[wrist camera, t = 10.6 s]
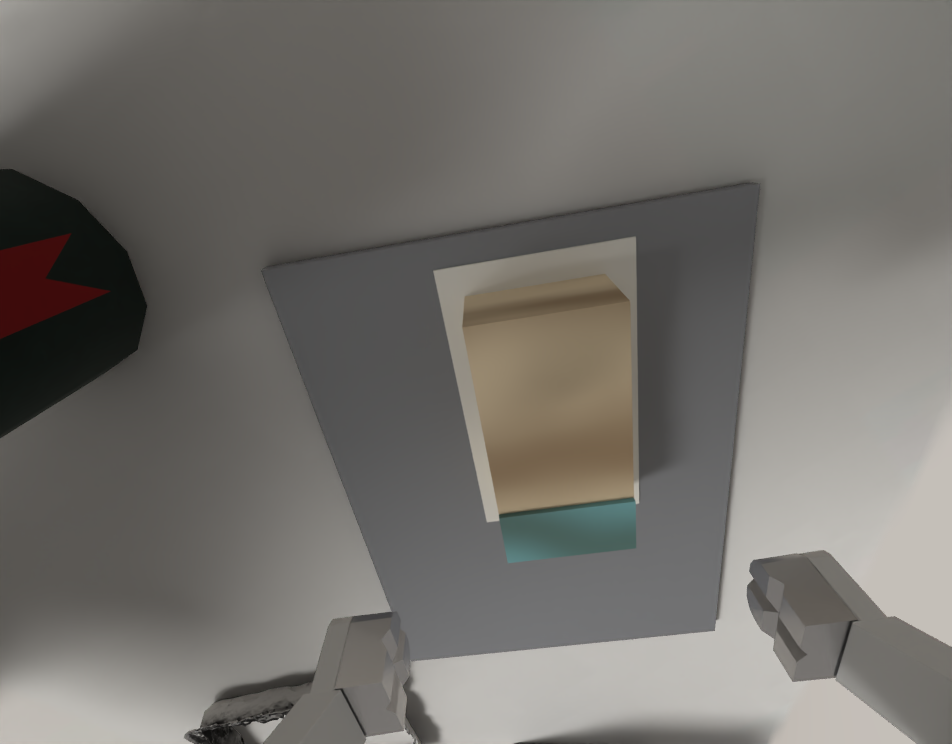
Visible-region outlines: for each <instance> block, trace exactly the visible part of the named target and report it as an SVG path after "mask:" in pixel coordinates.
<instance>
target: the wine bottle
mask: <svg viewBox="0 0 952 744" xmlns="http://www.w3.org/2000/svg"><path fill="white" fill-rule="evenodd" d="M146 308H147V305H146V302H145V300H144V297H143V294H142V291H141V289H140V286H139V283H138V281H137V278H136V275H135V273H134V270H133V267H132V264H131V262H130V259H129V256H128V254H127V251H126V250H125V249H124V248H123V247H122V246H121V245H120V244H119V243H118V242H117V241H116V240H115V239H114V238H113V237H112V236H111V235H110V234H109V233H108V231H107V230H106V229H105V228H104V227H103V226H102V225H101V224H100V223H99V222H98V221H97V220H96V219H95V218H94V217H93V216H92V215H91V214H90V213H89V212H88V210H87V209H86V208H85V207H84V206H83V205H82V204H81V203H80V202H79V201H78V200H76V199H74V198H72V197H70V196H68V195H66V194H63V193H61V192H59V191H57V190H55V189H53V188H51V187H49V186H46V185H44V184H42V183H40V182H38V181H36V180H34V179H32V178H29V177H27V176H25V175H23V174H21V173H19V172H17V171H15V170H12V169H7V170H0V438H2V437H3V436H5V435H6V434H8V433H10V432H11V431H13V430H14V429H16V428H17V427H19V426H21V425H22V424H24V423H25V422H27V421H29V420H30V419H32V418H33V417H35V416H37V415H38V414H40V413H41V412H43V411H45V410H46V409H48V408H49V407H51V406H53V405H54V404H56V403H57V402H59V401H61V400H62V399H64V398H65V397H67V396H69V395H70V394H72V393H73V392H75V391H77V390H78V389H80V388H81V387H83V386H85V385H86V384H88V383H89V382H91V381H93V380H94V379H96V378H97V377H99V376H101V375H102V374H104V373H105V372H107V371H108V370H109V369H111V368H112V367H114V366H115V365H116V364H118V363H119V362H121V361H122V360H123V359H125V358H126V357H128V356H129V355H130V354H132V353H133V352H135V351H136V350H137V349H138V344H139V340H140V335H141V331H142V326H143V322H144V317H145V313H146Z"/></svg>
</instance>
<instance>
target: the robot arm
mask: <svg viewBox="0 0 952 744" xmlns="http://www.w3.org/2000/svg"><path fill="white" fill-rule="evenodd" d="M749 572H750V573H751V575H752V576H753V578H754V579H753V580H752V581H751V582H750V583H749V584H748V585H747V599H748V603H749V607H750V610H751V612H752V615H753V617H754V619H755V621H756V622H757V624H758V626H759V627H760V629H761V630H762V631H763V632H765V633H766V634H768V635H769V636H771V637H772V638H774V647H773V651H774V652H775V654H776V655H777V657H778V659H779V660H780V662H781V664H782V665H783V667H784V668H785V670H786V672H787V673H788V675H789V677H790V678H791V680H792V681H793V682H795V681H806V680H816V679H827V678H836V681H837V682H839V683H840V684H841V685H842V686H844V687H845V688H846V689H847V690H849V691H850V692H851V693H853V694H854V695H855V696H856V697H858V698H859V699H860V700H862V701H863V702H864V703H865V704H867V705H868V706H869V707H871V708H872V709H873V710H874V711H876V712H877V713H878V714H879V715H881V716H882V717H883V718H885V719H886V720H887V721H888V722H890V723H891V724H892V725H893V726H895V727H896V728H897V729H899V730H900V731H901V732H902V733H904V734H905V735H906V736H908V737H909V738H910V739H911V740H913V741H914V742H915V743H916V744H952V647H950V646H948V645H947V644H945V643H943V642H941V641H939V640H938V639H936V638H934V637H932V636H930V635H928V634H926V633H925V632H923V631H921V630H919V629H917V628H915V627H913V626H912V625H910V624H908V623H906V622H904V621H902V620H901V619H899V618H897V617H895V616H894V617H887V616H886V615H885V614H884V613H883V612H882V611H881V610H880V608H879V607H878V606H877V605H876V604H875V603H874V602H873V601H872V600H871V598H870V597H869V596H868V595H867V594H866V593H865V592H864V591H863V590H862V589H861V587H860V586H859V585H858V584H857V583H856V582H855V581H854V580H853V579H852V577H851V576H850V575H849V574H848V573H847V572H846V571H845V570H844V569H843V567H842V566H841V565H840V564H839V563H838V562H837V561H836V560H835V559H834V557H833V556H832V555H831V554H830V553H828V552H826V551H824V550H821V551H814V552H807V553H801V554H797V553H796V554H789V555H783V556H777V557H770V558H764V559H758V560H753V562H752V563H751V564H750V570H749ZM400 624H401V619H400V617H399V615H398V612H397V611H395V612H386V613H378V614H369V615H361V616H352V617H344V618H337V619H333V620H332V621H331V623H330V625H329V626H328V629H327V633H326V636H325V640H324V643H323V647H322V651H321V654H320V658H319V661H318V665H317V668H316V672H315V676H314V679H313V683H312V686H311V690H310V693H309V694H303V695H302V697H301V698H300V699H299V700H298V701H297V703H296V704H295V705H294V706H293V708H292V709H291V710H290V711H289V712H288V714H287V715H286V716H285V717H284V719H283V720H282V721H281V722H280V723H279V725H278V726H277V727H276V728H275V730H274V731H273V732H272V733H271V734H270V736H269V737H268V738H267V739H266V741H265V742H264V743H263V744H364V743H365V741H366V737H368V736H374V735H380V734H387V733H393V732H399V731H404V723H405V713H406V704H407V696H406V694H405V691H404V689H403V685H404V683H405V682H406V681H407V679H408V678H409V674H410V647H409V641H408V638H407V635H406V632H404V631H403V630H401V629H400Z"/></svg>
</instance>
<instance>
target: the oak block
mask: <svg viewBox="0 0 952 744" xmlns="http://www.w3.org/2000/svg"><path fill="white" fill-rule="evenodd" d="M462 329H463V334H464V339H465V344H466V350H467V355H468V360H469V365H470V370H471V375H472V380H473V385H474V390H475V395H476V401H477V406H478V411H479V416H480V421H481V426H482V431H483V436H484V441H485V446H486V452H487V457H488V462H489V467H490V472H491V477H492V482H493V487H494V492H495V498H496V503H497V508H498V513H499V521H500V526H501V531H502V536H503V541H504V546H505V551H506V556H507V561H508V563H514V562H523V561H531V560H540V559H549V558H557V557H566V556H575V555H583V554H592V553H601V552H609V551H618V550H627V549H635V548H636V501H635V499H634V471H633V418H632V366H631V313H630V300H629V299H628V298H627V297H626V296H625V295H624V294H623V293H622V292H621V290H620V289H619V288H618V287H617V286H616V285H615V284H614V283H613V282H612V281H611V280H610V278H609V277H608V276H607V275H606V274H601V275H595V276H589V277H582V278H576V279H570V280H564V281H558V282H552V283H546V284H539V285H533V286H527V287H521V288H515V289H509V290H503V291H496V292H490V293H484V294H478V295H472V296H466V297H465V299H464V311H463V324H462Z"/></svg>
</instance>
